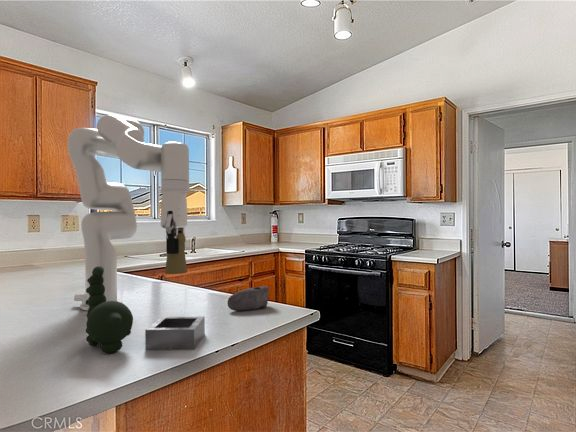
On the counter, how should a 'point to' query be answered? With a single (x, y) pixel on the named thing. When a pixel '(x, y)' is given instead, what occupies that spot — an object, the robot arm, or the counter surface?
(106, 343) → the toy figurine
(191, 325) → the metal open box
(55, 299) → the counter surface
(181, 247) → the cork
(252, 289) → the perforated stone tool
